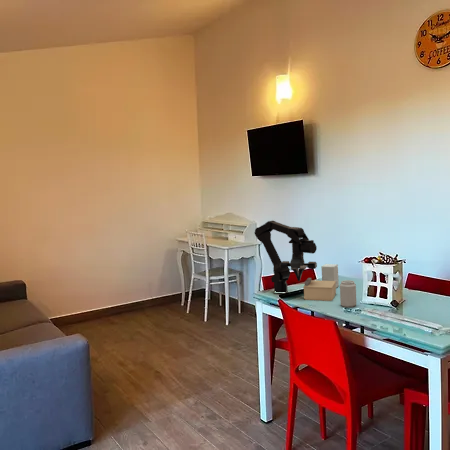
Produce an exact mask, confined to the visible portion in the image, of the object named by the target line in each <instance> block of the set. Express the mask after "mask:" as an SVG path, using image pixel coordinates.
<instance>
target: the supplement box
mask: <svg viewBox="0 0 450 450" xmlns="http://www.w3.org/2000/svg"><path fill="white" fill-rule="evenodd" d="M338 266H339V264H335V263H334V264H333V263H332V264H331V263H325V264H323V265H321V281H336V289H337V288H338V287H340V283H339V267H338Z"/></svg>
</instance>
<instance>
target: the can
mask: <svg viewBox="0 0 450 450" xmlns="http://www.w3.org/2000/svg"><path fill="white" fill-rule="evenodd" d="M339 299H340V303H339V304H340V305H341V306H342V307H344V308H354V307H356V305H357V285H356V283H355V281H354V280H350V279H346V280H345V279H344V280H342V281H340V283H339Z"/></svg>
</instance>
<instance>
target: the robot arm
mask: <svg viewBox="0 0 450 450" xmlns="http://www.w3.org/2000/svg"><path fill="white" fill-rule="evenodd" d="M273 231H276V232H279V233H282V234H285V235H286V236H287V237H288V238H289V239H290V240H289V241H288V243H289V244H291V250H292V251H291V252H292V255H291V259H290V261H288V260H283V261H282V260H281V258H280V255H279V253H278V252H277V249H276V247H275V246H274V244H273V241H272V233H271V232H273ZM254 235H255V237H256V239H257V240H258V241H259V242H260V243H261V244H263V247H264V249H265V251H266V253H267V254H268V257H269V259H270V262H271V264H272V266H273V268H272V269H273V275H272V276H271V278H270V281H271V283H273V292H274V291H276V292H286V293H287V292H288V290H289V289H288V283H287V281H289V279H290V276H291V271H293V272H294V275H295V277H296V280H297V282H300V281H301V280H302V279H301V278H302V275H303V273H304V271H306V269H307V268H308V269H309V270H314V269H317V268H318V263H317V262H316V261H309V262H305V260H304V254H316V252H317V245H316V243H315V241H314V240H313V239H311V240H310V239H309V238H308V235H307V234H306V232H305V230H304V229H303V228H302V227H296V226H289V225H286V224H283V223H280V222H277V221H276V220H268V221H267V222H265V223H264V224H262V225H260V226H259V227H256V228H255V230H254ZM289 267H290V268H289ZM290 270H291V271H290Z"/></svg>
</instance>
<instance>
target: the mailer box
mask: <svg viewBox="0 0 450 450" xmlns="http://www.w3.org/2000/svg"><path fill="white" fill-rule="evenodd" d="M336 295H337V288H336V283H335V285H334V287H333V288H332V289H312V288H303V297H304V300H305V301H323V302H324V301H325V302H326V301H328V302H333V300H334V298H335V296H336Z"/></svg>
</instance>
